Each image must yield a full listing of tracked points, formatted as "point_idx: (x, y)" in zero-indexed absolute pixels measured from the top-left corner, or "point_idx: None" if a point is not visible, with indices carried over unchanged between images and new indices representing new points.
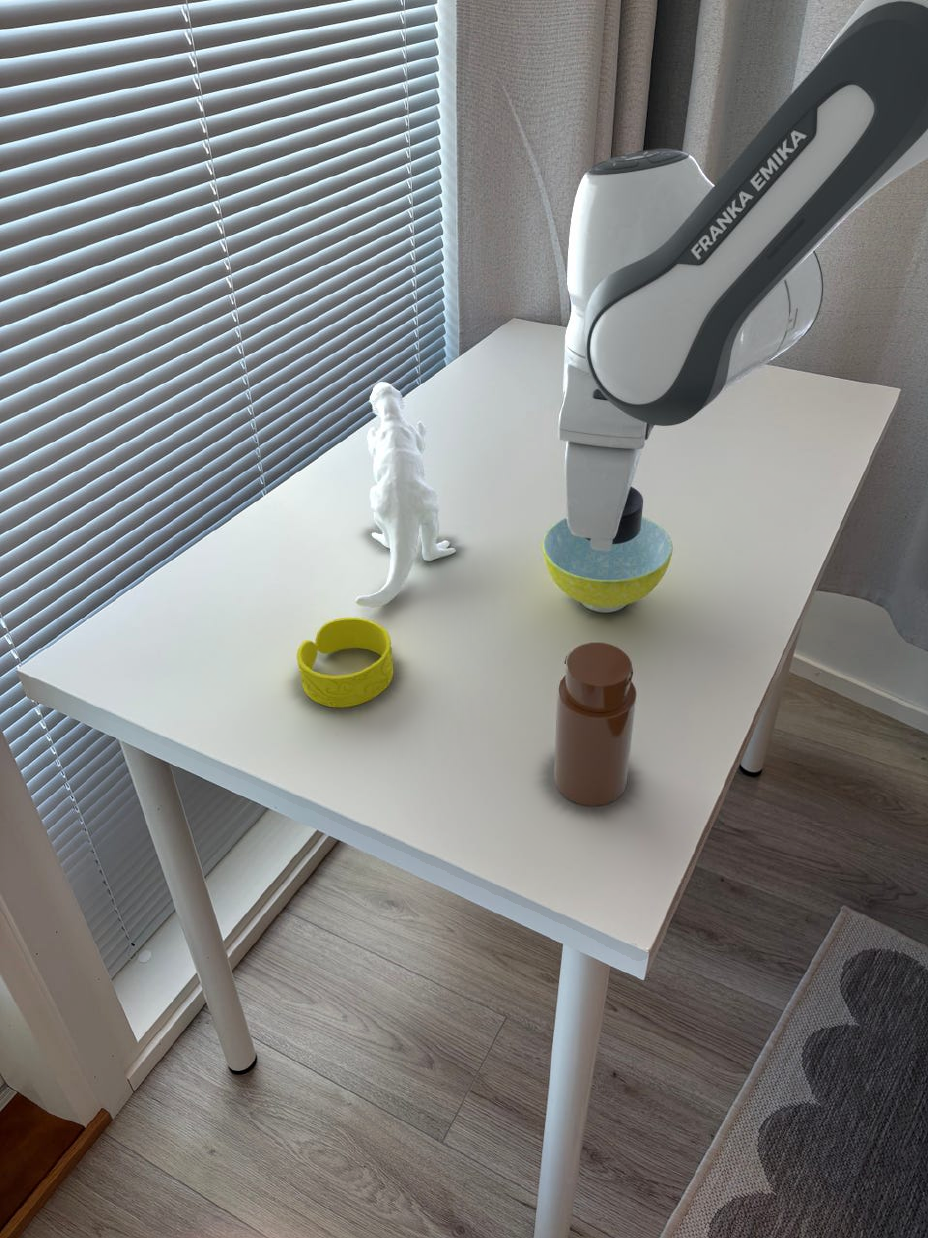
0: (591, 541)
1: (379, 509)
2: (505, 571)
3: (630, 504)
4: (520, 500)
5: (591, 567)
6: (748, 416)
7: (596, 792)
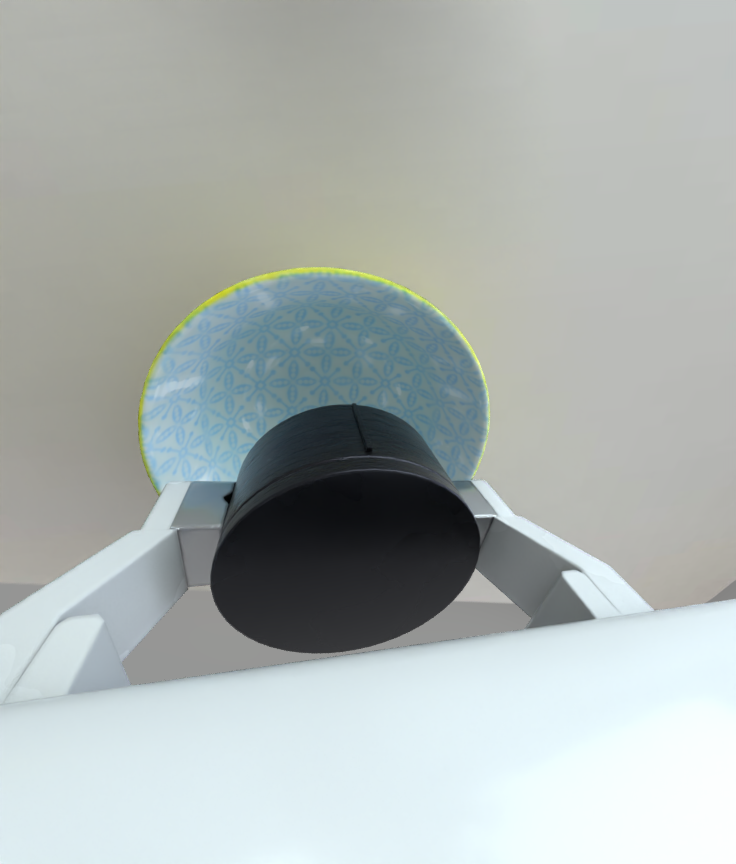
0: (158, 500)
1: None
2: (392, 147)
3: (326, 631)
4: (673, 170)
5: (377, 374)
6: (724, 518)
7: None
